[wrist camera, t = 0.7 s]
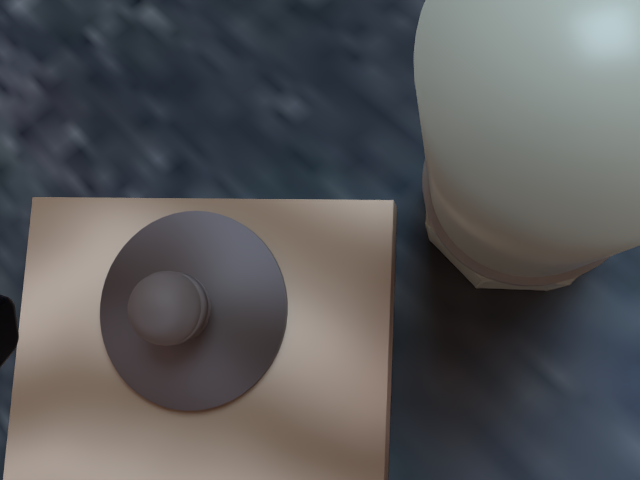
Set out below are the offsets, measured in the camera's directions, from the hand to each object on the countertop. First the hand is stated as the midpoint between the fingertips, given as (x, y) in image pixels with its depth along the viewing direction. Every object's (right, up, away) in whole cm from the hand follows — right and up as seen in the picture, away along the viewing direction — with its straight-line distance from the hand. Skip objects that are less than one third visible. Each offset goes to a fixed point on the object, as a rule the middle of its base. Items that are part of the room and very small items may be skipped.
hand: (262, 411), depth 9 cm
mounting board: (-4, -4, +13) cm, 14 cm away
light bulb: (+8, +4, +12) cm, 15 cm away
